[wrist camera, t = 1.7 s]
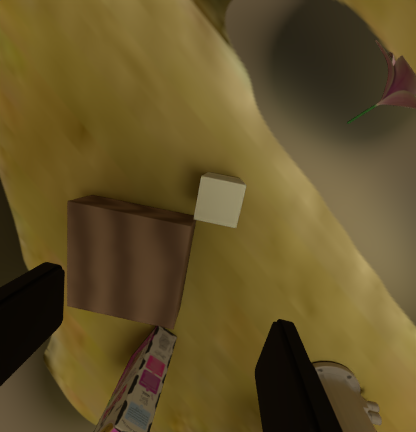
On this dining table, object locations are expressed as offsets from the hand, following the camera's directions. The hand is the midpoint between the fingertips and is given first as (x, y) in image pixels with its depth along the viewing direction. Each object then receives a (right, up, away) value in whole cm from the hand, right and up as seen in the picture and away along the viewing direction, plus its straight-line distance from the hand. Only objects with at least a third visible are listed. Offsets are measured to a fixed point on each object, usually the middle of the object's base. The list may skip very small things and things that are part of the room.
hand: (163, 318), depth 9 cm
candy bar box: (-9, -22, +33) cm, 41 cm away
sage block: (+4, +8, +23) cm, 25 cm away
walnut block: (-10, -2, +28) cm, 30 cm away
